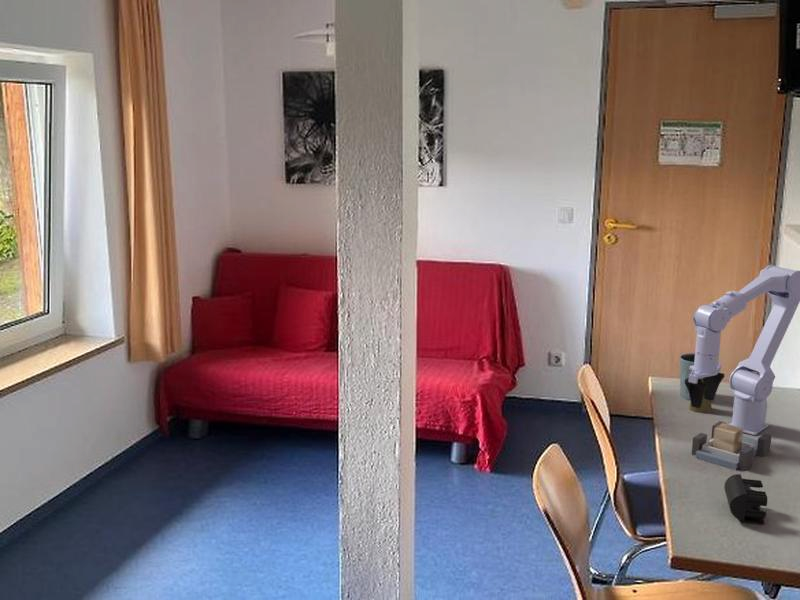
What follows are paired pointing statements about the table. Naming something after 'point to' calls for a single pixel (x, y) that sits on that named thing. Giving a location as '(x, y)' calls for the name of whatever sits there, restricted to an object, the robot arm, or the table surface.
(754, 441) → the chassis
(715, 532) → the table surface
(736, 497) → the end cap
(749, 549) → the table surface
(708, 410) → the cork
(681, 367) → the grey-green cup
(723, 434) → the block
